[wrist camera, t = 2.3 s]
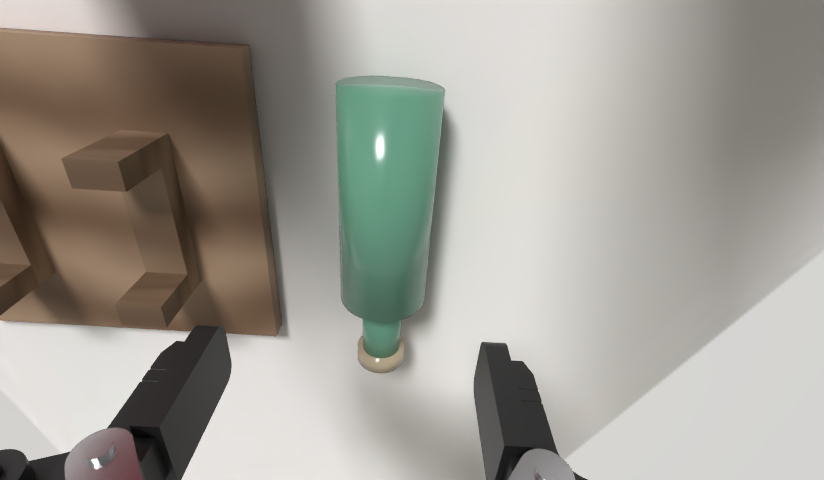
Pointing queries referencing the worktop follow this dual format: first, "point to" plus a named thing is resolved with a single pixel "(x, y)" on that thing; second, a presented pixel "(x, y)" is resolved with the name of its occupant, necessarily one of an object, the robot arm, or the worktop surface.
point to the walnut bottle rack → (132, 185)
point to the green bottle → (386, 204)
